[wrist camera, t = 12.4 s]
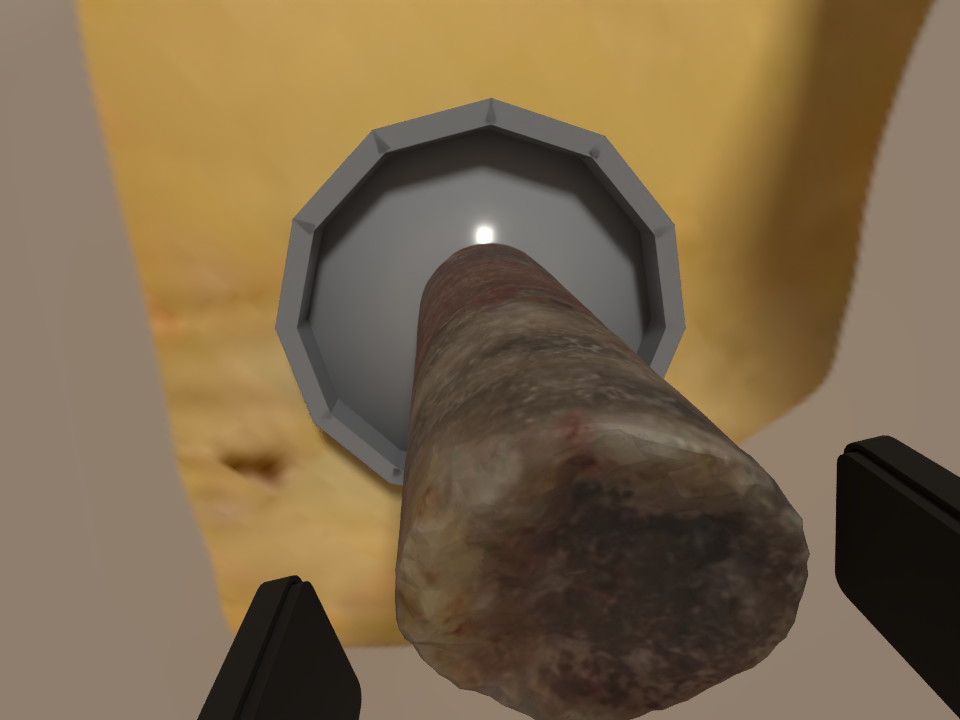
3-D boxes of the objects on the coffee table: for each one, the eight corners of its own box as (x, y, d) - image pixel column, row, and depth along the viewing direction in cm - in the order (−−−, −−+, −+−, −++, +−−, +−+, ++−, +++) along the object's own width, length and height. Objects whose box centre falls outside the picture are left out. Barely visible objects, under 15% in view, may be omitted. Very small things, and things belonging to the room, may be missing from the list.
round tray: (631, 68, 24) (656, 53, 21) (675, 424, 31) (698, 448, 28) (237, 173, 25) (211, 172, 22) (366, 501, 31) (358, 533, 29)
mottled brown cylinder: (578, 343, 28) (859, 679, 9) (461, 400, 28) (493, 822, 10) (521, 216, 25) (744, 312, 6) (394, 281, 26) (262, 541, 7)
